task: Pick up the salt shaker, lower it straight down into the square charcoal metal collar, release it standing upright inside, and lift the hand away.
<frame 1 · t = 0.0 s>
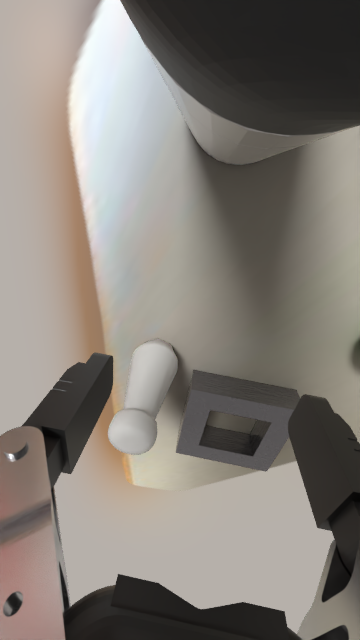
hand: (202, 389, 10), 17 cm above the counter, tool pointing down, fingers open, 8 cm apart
collar: (231, 413, 36), on the counter
salt shaker: (158, 350, 32), on the counter
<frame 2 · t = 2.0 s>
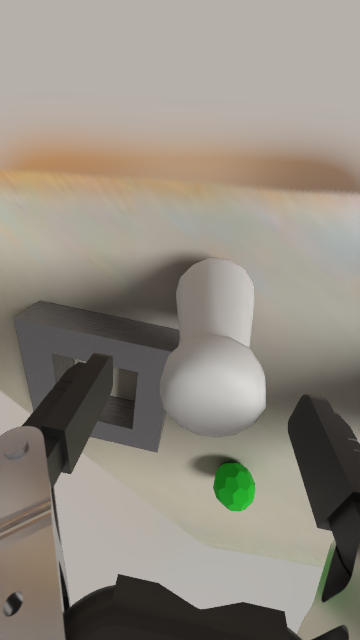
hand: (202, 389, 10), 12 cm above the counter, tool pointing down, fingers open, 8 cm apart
polyhedron: (232, 464, 32), on the counter
collar: (109, 370, 27), on the counter
salt shaker: (214, 284, 20), on the counter
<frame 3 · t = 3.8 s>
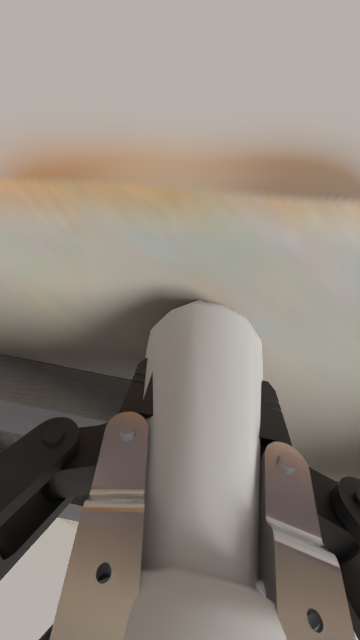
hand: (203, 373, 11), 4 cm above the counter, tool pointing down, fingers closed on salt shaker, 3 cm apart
collar: (71, 430, 20), on the counter
salt shaker: (204, 330, 14), on the counter, touching gripper
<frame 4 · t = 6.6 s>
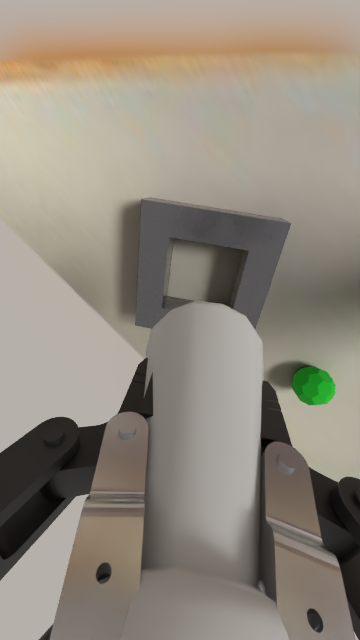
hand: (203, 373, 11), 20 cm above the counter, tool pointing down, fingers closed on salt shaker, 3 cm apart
polyhedron: (306, 372, 34), on the counter
collar: (203, 271, 29), on the counter
salt shaker: (205, 329, 14), point 16 cm above the counter, touching gripper
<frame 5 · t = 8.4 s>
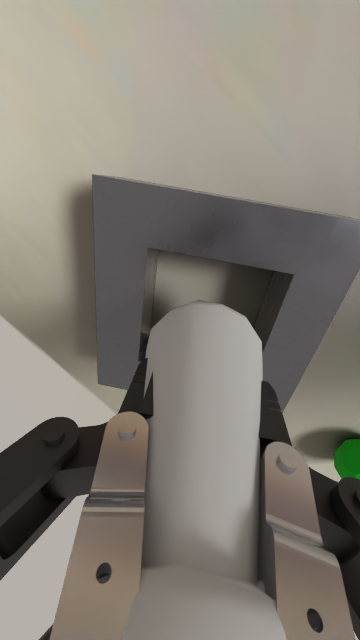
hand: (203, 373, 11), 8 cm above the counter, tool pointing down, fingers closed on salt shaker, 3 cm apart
polyhedron: (353, 441, 24), on the counter
collar: (206, 300, 18), on the counter
salt shaker: (204, 329, 14), point 4 cm above the counter, touching gripper
when the fingers open (5 cm above the counter, at t = 9.6 s): salt shaker drops 1 cm, resting in collar.
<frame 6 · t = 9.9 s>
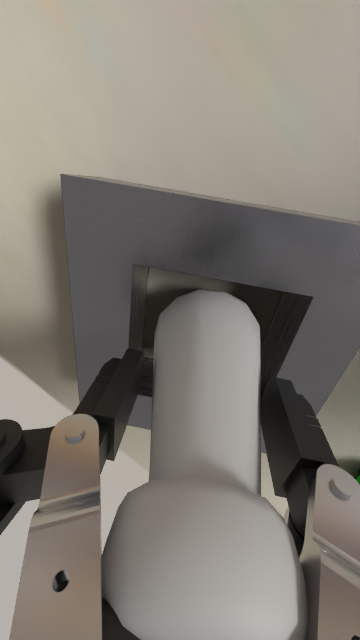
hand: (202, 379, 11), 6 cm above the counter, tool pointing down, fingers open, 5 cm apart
collar: (205, 320, 16), on the counter
salt shaker: (207, 318, 16), resting in collar
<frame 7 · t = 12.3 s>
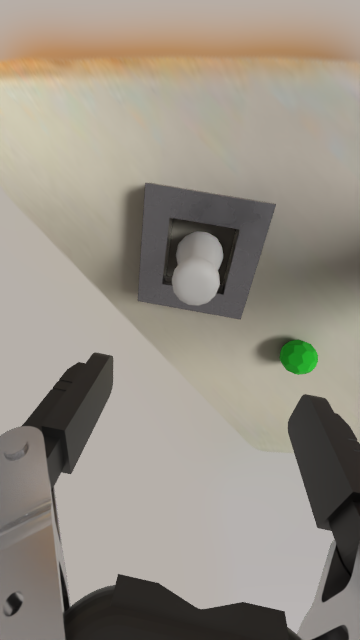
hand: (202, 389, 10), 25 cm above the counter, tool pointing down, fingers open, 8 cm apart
polyhedron: (292, 346, 38), on the counter
collar: (199, 251, 32), on the counter
salt shaker: (200, 251, 32), resting in collar
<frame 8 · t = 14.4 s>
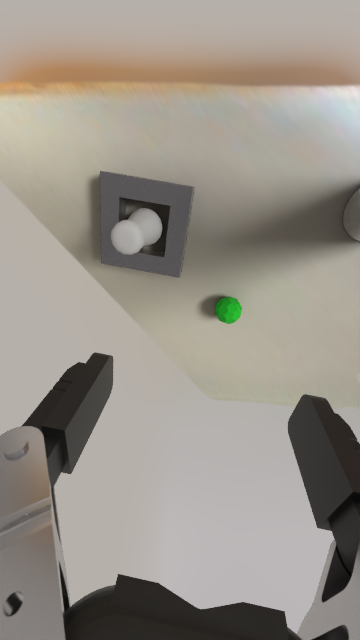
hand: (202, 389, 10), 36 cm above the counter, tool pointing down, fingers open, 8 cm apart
polyhedron: (227, 304, 48), on the counter
collar: (147, 225, 42), on the counter
salt shaker: (148, 225, 42), resting in collar
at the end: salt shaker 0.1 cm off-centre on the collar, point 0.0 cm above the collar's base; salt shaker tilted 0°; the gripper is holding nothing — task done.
